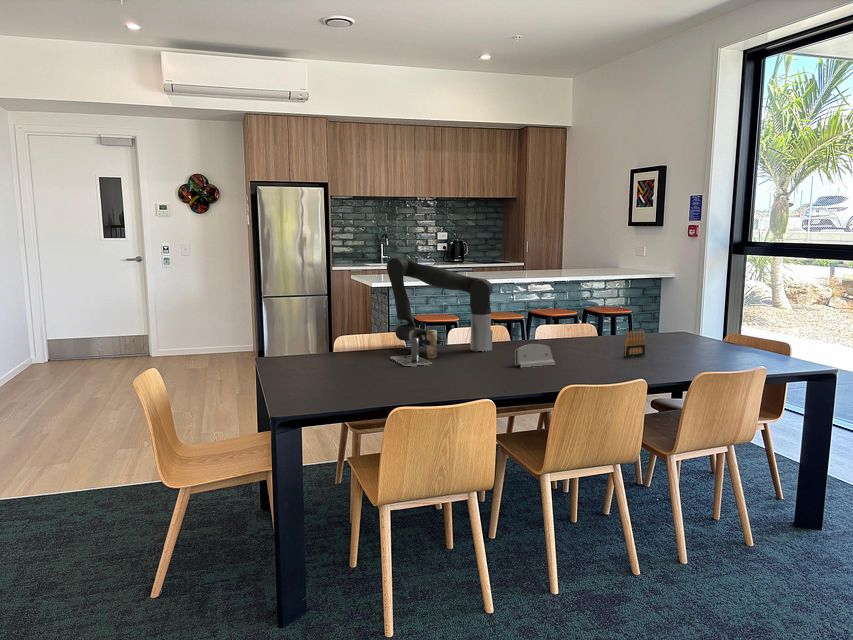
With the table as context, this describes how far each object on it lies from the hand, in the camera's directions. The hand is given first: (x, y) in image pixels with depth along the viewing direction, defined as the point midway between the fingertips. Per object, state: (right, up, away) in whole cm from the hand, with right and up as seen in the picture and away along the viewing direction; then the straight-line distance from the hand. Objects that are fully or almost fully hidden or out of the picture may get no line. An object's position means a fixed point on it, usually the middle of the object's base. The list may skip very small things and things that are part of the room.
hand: (434, 342), depth 272 cm
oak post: (-1, -7, +3) cm, 8 cm away
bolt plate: (-10, -8, -6) cm, 14 cm away
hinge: (+41, -9, -12) cm, 44 cm away
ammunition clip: (+90, -7, +7) cm, 90 cm away
